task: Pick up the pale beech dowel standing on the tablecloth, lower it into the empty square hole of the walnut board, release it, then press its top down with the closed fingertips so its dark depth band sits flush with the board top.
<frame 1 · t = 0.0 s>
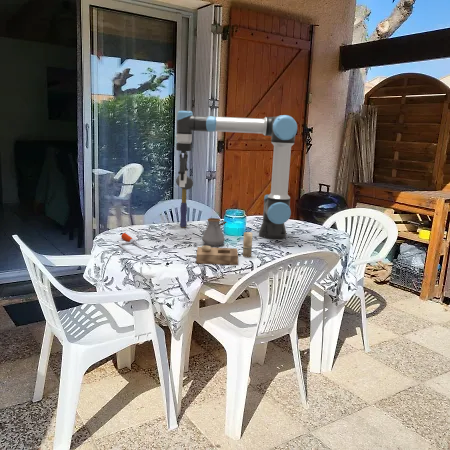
hand: (182, 185, 234), 28 cm above the table, fingers open, 13 cm apart
coffee pot: (216, 247, 227), on the table
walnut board: (216, 259, 206), on the table
hand saw: (130, 247, 221), on the table
beech dowel: (246, 256, 214), on the table
rubber mallet: (183, 227, 265), on the table
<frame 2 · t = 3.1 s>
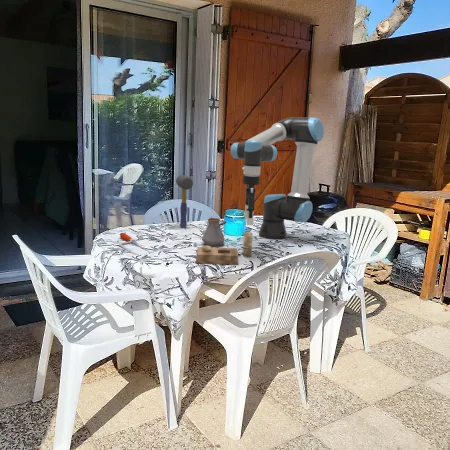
hand: (248, 222, 210), 16 cm above the table, fingers open, 13 cm apart
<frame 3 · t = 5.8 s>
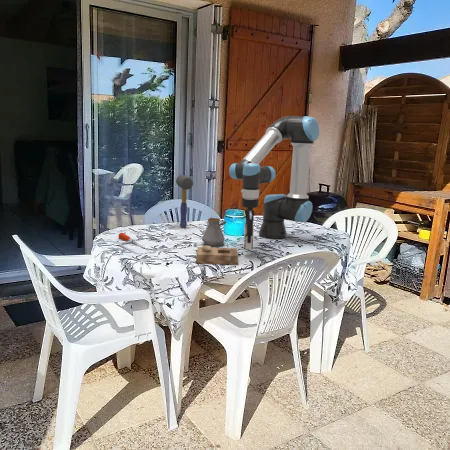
hand: (248, 247, 214), 4 cm above the table, fingers closed on beech dowel, 4 cm apart
beech dowel: (248, 248, 214), point 4 cm above the table, touching gripper
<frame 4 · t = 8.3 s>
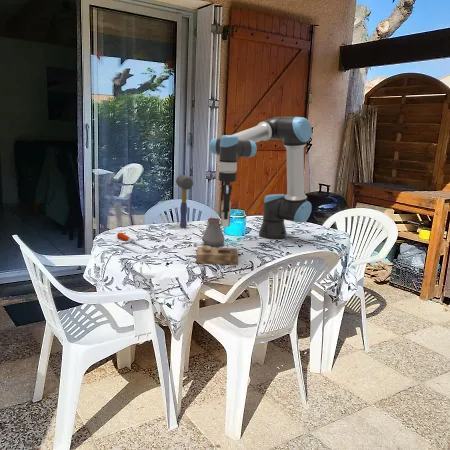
hand: (225, 225, 202), 16 cm above the table, fingers closed on beech dowel, 4 cm apart
beech dowel: (225, 225, 202), point 16 cm above the table, touching gripper
when the fingers open (5 cm above the table, at t = 10.7 s): beech dowel drops 5 cm, resting in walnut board.
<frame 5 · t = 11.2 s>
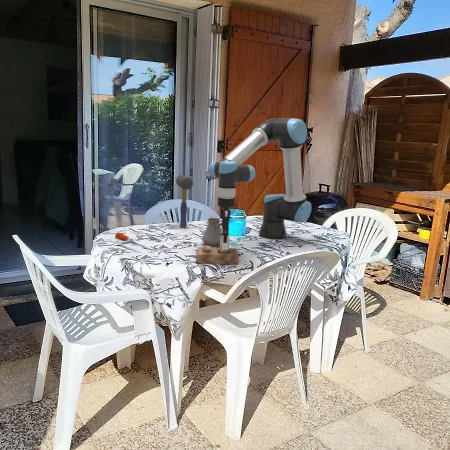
hand: (224, 246, 204), 6 cm above the table, fingers open, 11 cm apart
beech dowel: (223, 260, 206), resting in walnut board
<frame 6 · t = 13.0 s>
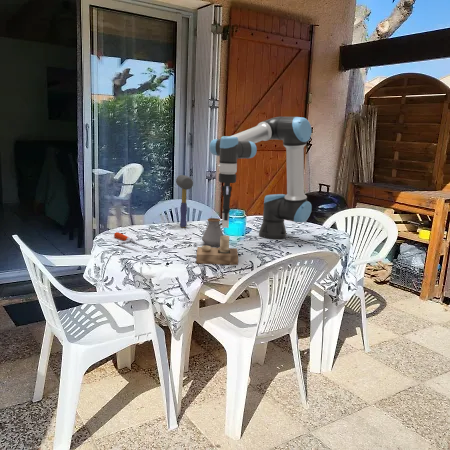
hand: (225, 226, 202), 16 cm above the table, fingers open, 4 cm apart
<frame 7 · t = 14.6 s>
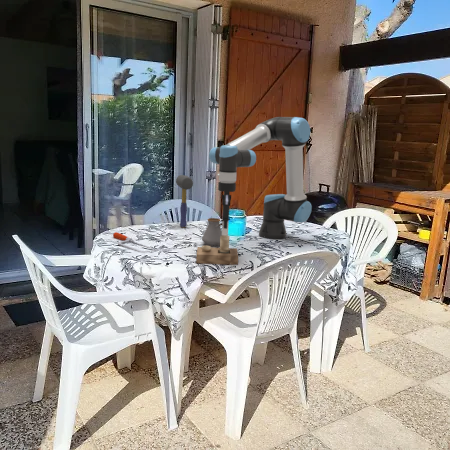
hand: (224, 235, 203), 12 cm above the table, fingers closed
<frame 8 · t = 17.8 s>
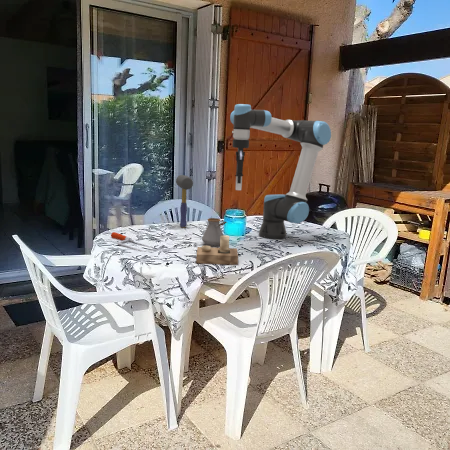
hand: (238, 190, 216), 29 cm above the table, fingers closed
at the end: beech dowel 0.1 cm from the target spot on the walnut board, point 0.0 cm above the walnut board's base; beech dowel tilted 0°; the gripper is holding nothing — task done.
